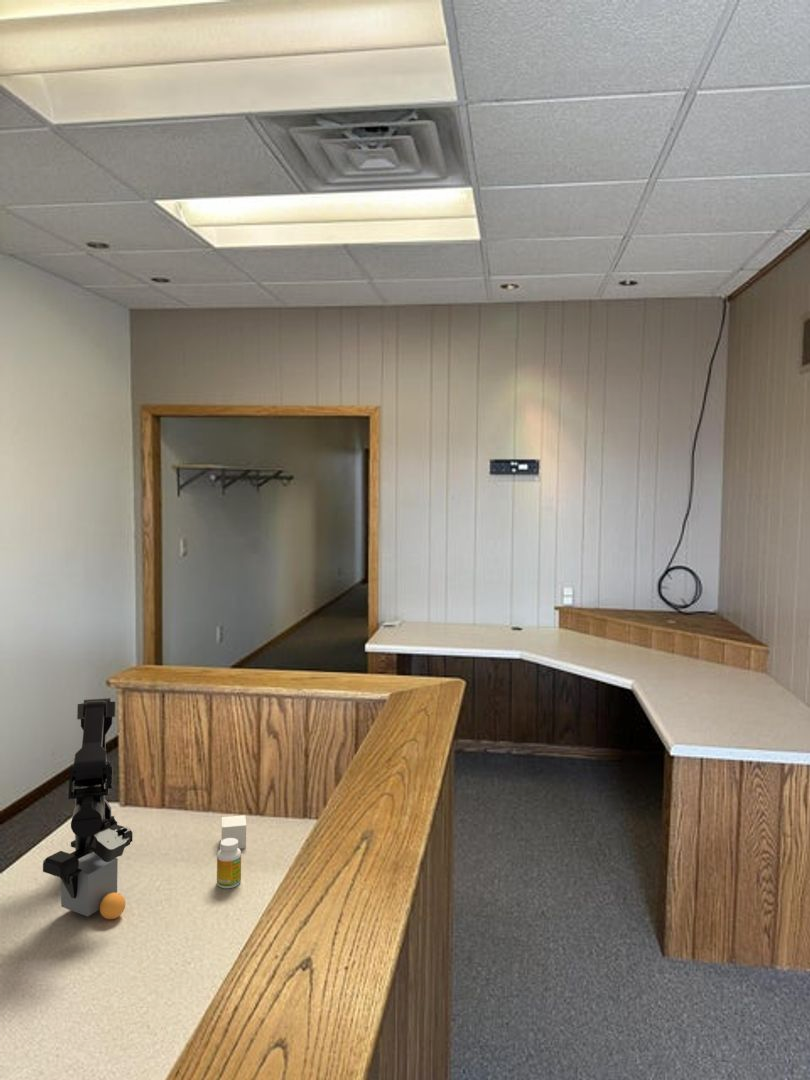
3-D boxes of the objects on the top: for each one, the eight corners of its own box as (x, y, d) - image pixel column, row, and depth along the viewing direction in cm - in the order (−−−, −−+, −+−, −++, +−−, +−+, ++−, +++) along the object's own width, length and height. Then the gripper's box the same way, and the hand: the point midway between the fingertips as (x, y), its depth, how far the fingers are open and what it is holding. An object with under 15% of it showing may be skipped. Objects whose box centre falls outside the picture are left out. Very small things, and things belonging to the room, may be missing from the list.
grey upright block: (61, 906, 151) (61, 865, 151) (91, 889, 158) (91, 850, 158) (87, 916, 148) (88, 874, 148) (117, 898, 155) (117, 858, 155)
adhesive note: (246, 848, 182) (246, 825, 182) (221, 850, 181) (221, 827, 181) (245, 837, 188) (245, 815, 188) (221, 839, 187) (221, 817, 186)
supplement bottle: (234, 890, 162) (235, 848, 162) (212, 887, 163) (213, 845, 163) (244, 878, 168) (245, 837, 167) (223, 875, 169) (223, 835, 168)
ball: (93, 919, 150) (94, 896, 149) (112, 907, 154) (113, 885, 154) (111, 927, 148) (112, 903, 147) (130, 914, 152) (131, 892, 152)
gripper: (80, 842, 140) (80, 921, 141) (151, 808, 157) (151, 877, 158) (41, 830, 145) (40, 906, 146) (114, 798, 162) (113, 866, 163)
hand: (89, 888), depth 153 cm, fingers closed on grey upright block, 8 cm apart
